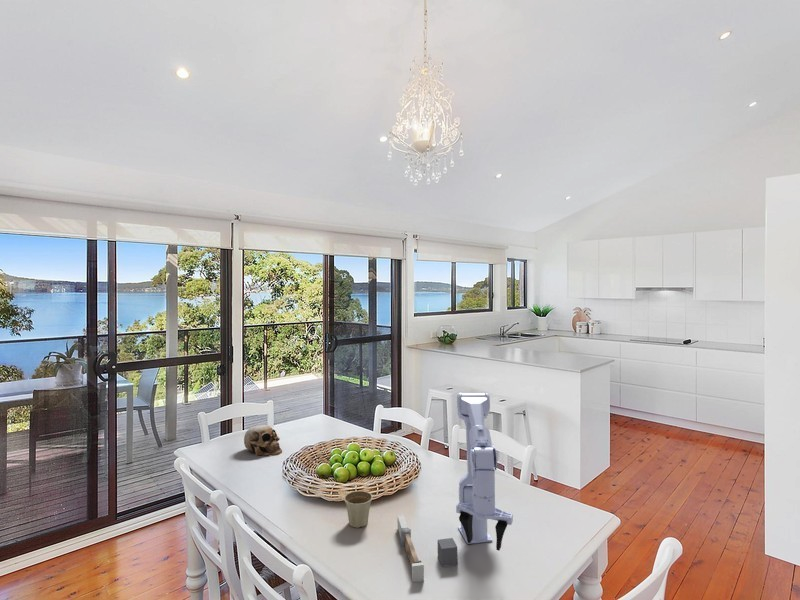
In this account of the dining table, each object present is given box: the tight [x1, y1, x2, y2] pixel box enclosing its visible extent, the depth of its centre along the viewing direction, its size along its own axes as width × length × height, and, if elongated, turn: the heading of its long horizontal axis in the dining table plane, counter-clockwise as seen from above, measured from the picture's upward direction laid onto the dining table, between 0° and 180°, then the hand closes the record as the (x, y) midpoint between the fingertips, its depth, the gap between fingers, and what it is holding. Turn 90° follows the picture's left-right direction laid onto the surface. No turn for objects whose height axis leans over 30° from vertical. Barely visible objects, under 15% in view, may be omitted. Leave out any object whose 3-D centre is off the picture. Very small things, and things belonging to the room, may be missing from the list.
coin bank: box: [243, 424, 283, 456], centre depth 209 cm, size 16×17×13 cm
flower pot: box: [343, 490, 374, 528], centre depth 142 cm, size 9×9×9 cm
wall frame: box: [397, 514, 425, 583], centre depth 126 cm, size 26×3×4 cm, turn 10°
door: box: [404, 534, 422, 568], centre depth 121 cm, size 14×2×4 cm, turn 10°
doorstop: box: [437, 537, 459, 567], centre depth 121 cm, size 4×4×5 cm
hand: (484, 544), depth 112 cm, fingers open, 7 cm apart
